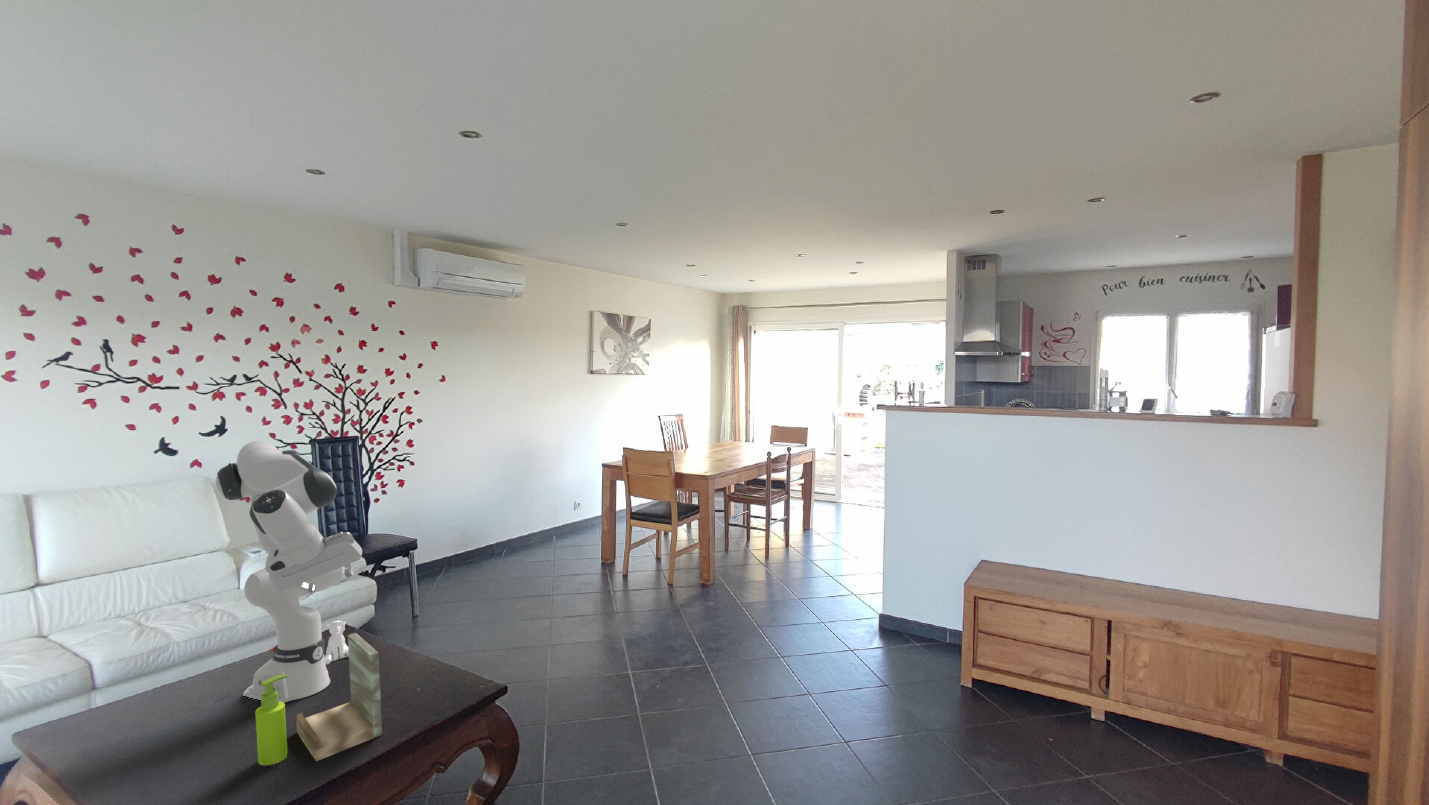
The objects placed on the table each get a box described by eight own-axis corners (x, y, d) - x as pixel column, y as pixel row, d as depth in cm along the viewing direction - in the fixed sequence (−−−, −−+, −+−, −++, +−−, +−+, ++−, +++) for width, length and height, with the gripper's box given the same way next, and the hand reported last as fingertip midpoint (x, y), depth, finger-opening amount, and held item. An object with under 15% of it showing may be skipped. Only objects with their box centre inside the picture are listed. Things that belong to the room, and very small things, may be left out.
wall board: (316, 761, 152) (311, 673, 151) (296, 732, 164) (292, 651, 163) (382, 734, 163) (378, 652, 162) (359, 709, 175) (355, 632, 174)
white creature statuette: (323, 666, 201) (322, 629, 201) (317, 657, 207) (315, 622, 207) (356, 656, 208) (355, 621, 207) (349, 648, 214) (348, 614, 213)
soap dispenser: (297, 753, 155) (293, 675, 154) (267, 769, 149) (262, 688, 148) (282, 747, 158) (278, 670, 157) (252, 763, 152) (248, 683, 150)
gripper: (348, 521, 161) (373, 558, 168) (262, 555, 155) (291, 591, 163) (347, 537, 156) (372, 574, 163) (257, 572, 150) (288, 608, 158)
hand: (331, 583), depth 163 cm, fingers open, 8 cm apart
